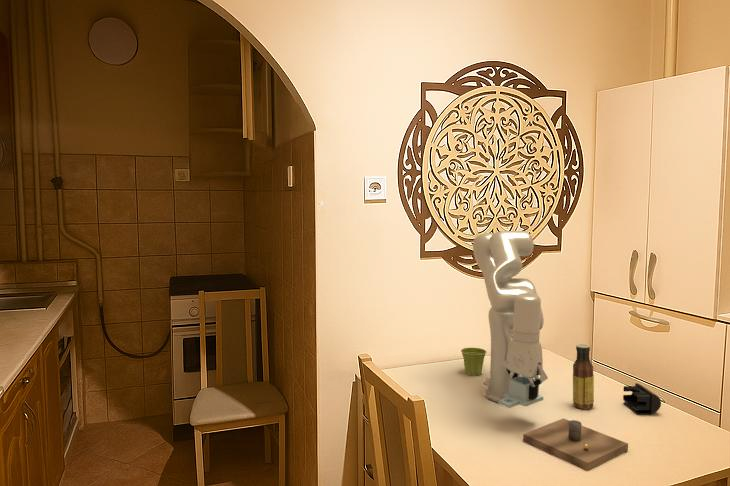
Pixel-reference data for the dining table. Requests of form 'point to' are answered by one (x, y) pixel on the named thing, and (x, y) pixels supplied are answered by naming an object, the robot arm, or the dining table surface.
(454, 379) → the dining table surface
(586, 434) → the post board
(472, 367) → the plant pot
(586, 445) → the brass dowel
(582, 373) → the sauce bottle
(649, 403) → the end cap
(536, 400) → the grey bracket housing
